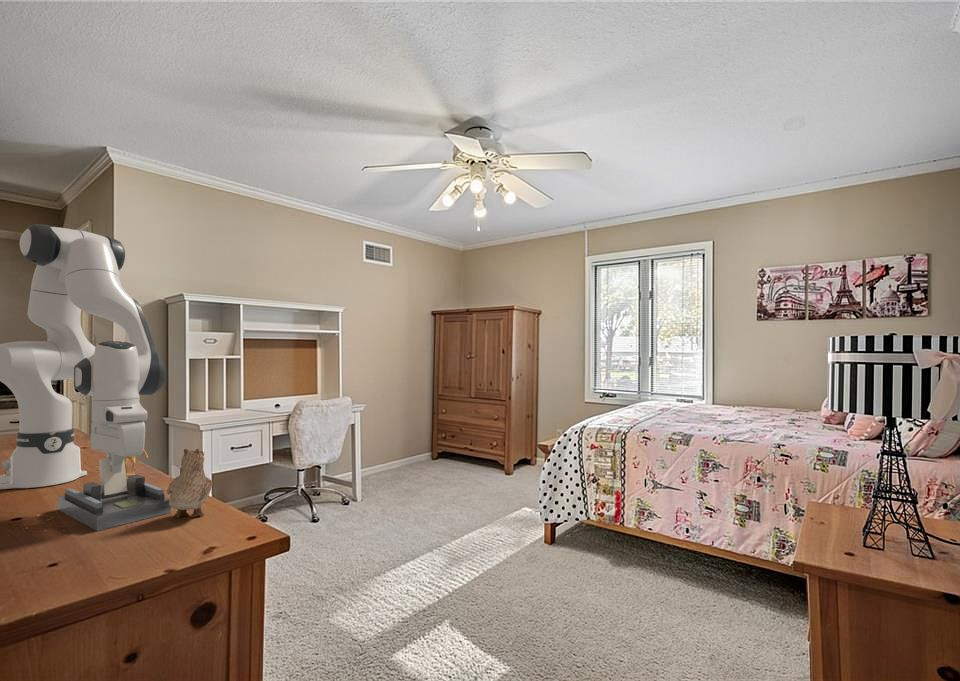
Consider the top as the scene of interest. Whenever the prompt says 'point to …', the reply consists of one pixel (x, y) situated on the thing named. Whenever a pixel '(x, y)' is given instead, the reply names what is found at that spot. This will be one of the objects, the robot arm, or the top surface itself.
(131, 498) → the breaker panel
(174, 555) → the top surface
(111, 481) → the lever
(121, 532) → the top surface
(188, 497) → the figurine
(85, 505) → the pair of grey bars
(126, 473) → the figurine
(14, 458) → the robot arm
